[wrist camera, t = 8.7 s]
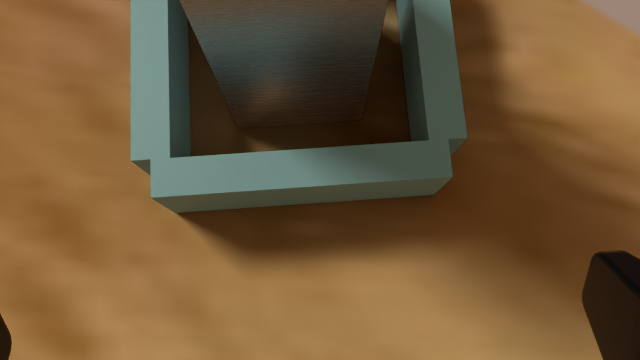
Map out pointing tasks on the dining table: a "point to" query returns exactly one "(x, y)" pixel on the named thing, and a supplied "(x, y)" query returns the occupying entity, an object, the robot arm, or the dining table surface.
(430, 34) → the teal square shallow tray
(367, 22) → the gray rectangular block
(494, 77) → the dining table surface
